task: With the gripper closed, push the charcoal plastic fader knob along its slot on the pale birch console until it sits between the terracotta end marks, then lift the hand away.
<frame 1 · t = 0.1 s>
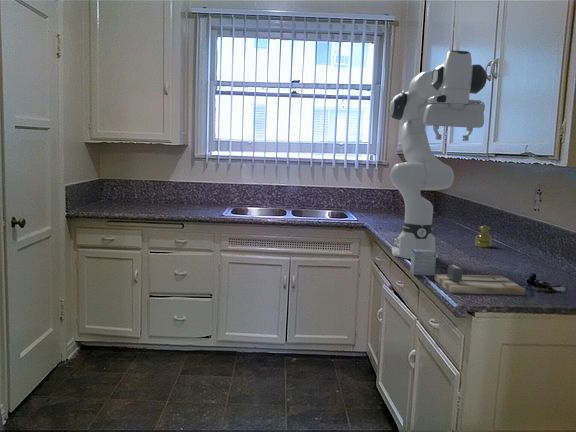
hand: (451, 140, 176), 48 cm above the worktop, fingers open, 8 cm apart
medicine box: (422, 274, 185), on the worktop
yellow lumpy upright piece: (482, 246, 244), on the worktop
console: (477, 286, 170), on the worktop
fader knob: (454, 272, 169), point 5 cm above the worktop, slide at 0.0 cm
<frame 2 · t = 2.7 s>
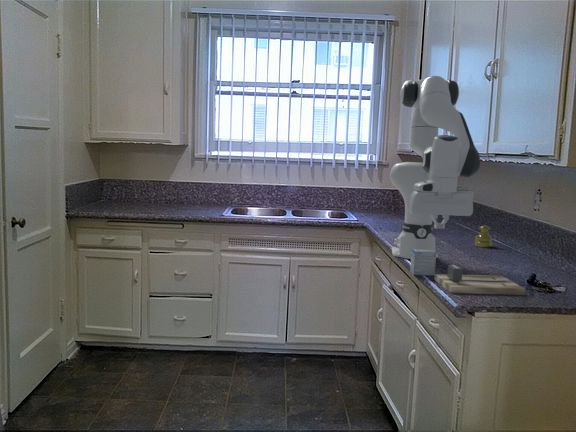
hand: (439, 228, 167), 19 cm above the worktop, fingers closed
nothing on the worktop moved.
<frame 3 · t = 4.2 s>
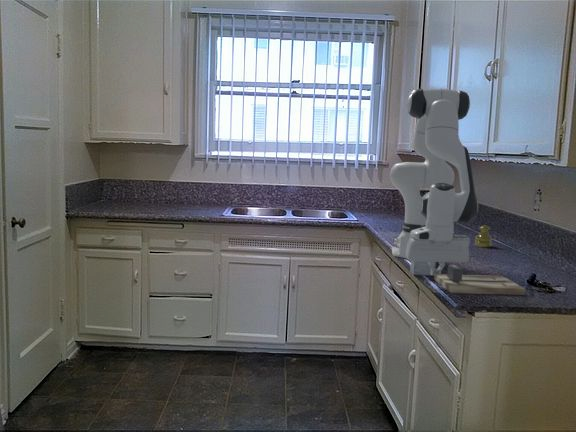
hand: (435, 274, 169), 4 cm above the worktop, fingers closed
nothing on the worktop moved.
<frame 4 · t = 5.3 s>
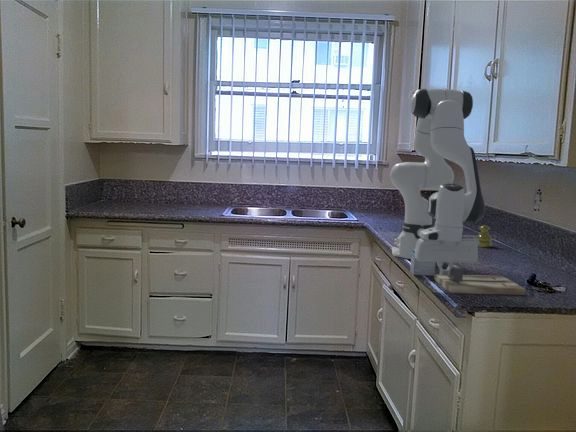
hand: (444, 275, 169), 4 cm above the worktop, fingers closed
fader knob: (455, 272, 169), point 5 cm above the worktop, slide at 0.2 cm, touching gripper
everything else where it was.
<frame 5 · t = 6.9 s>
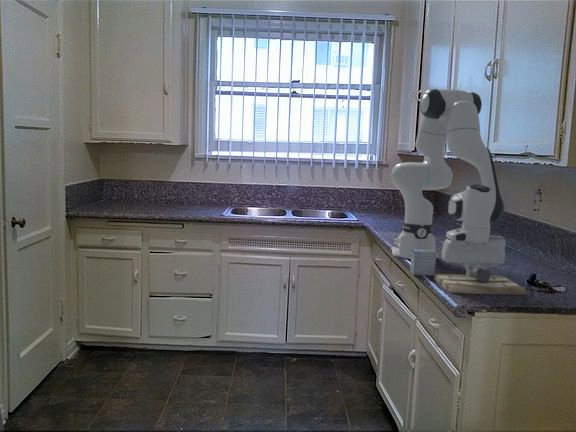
hand: (471, 276, 170), 4 cm above the worktop, fingers closed
fader knob: (482, 273, 170), point 5 cm above the worktop, slide at 9.2 cm, touching gripper
everything else where it was.
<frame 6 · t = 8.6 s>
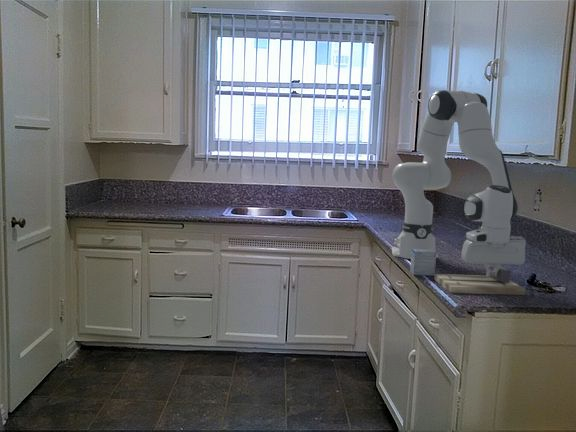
hand: (491, 276, 170), 4 cm above the worktop, fingers closed
fader knob: (502, 274, 170), point 5 cm above the worktop, slide at 15.9 cm, touching gripper
everything else where it was.
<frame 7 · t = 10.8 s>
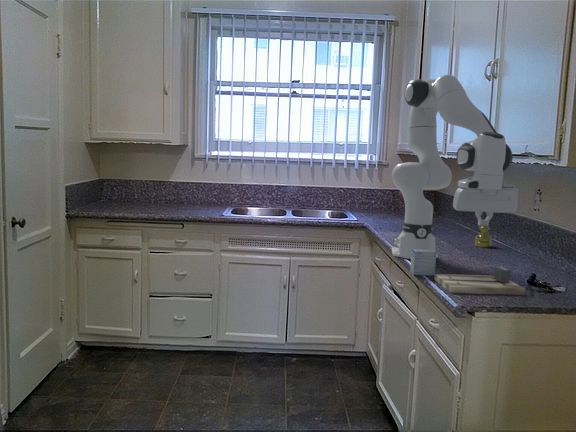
hand: (482, 225, 168), 21 cm above the worktop, fingers closed
fader knob: (502, 274, 170), point 5 cm above the worktop, slide at 16.0 cm
everything else where it was.
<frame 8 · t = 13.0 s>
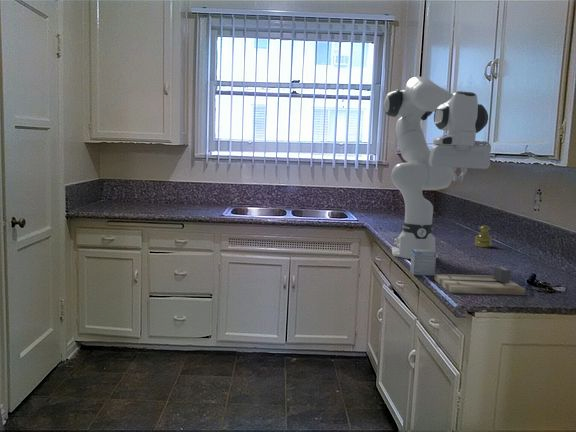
hand: (457, 181, 175), 34 cm above the worktop, fingers closed
nothing on the worktop moved.
at the end: fader knob slide at 16.0 cm; medicine box moved 0.3 cm from its start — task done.
